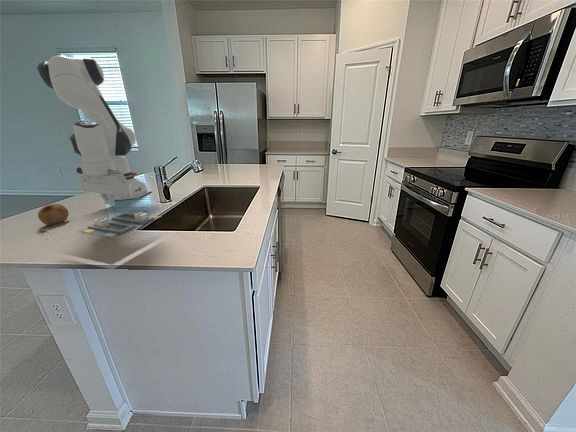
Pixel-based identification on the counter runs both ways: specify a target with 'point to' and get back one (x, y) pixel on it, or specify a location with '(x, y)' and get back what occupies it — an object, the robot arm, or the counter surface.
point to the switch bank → (118, 225)
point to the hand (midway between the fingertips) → (110, 204)
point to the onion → (53, 214)
